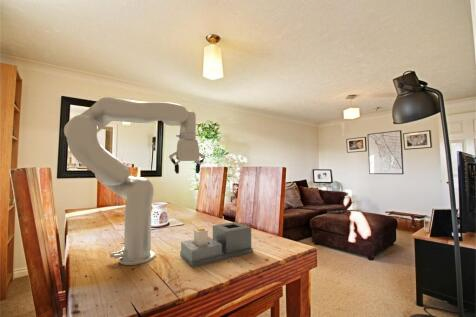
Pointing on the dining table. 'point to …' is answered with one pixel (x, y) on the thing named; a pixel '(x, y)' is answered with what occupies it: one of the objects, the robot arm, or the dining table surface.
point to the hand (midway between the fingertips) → (187, 173)
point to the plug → (200, 236)
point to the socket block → (219, 245)
